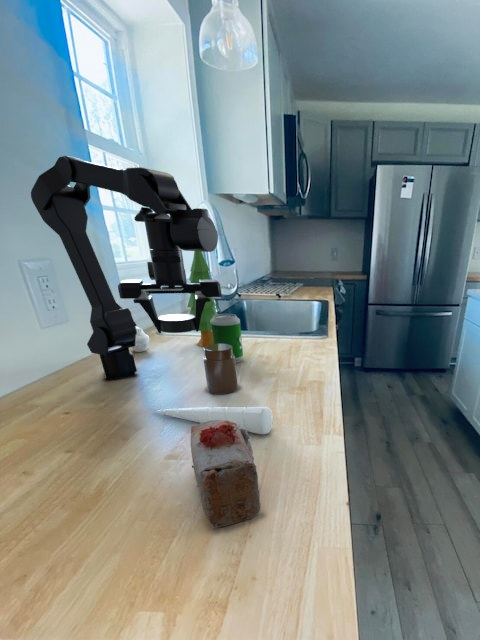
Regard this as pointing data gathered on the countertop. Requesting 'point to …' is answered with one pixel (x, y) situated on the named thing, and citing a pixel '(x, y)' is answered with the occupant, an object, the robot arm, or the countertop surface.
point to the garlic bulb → (140, 341)
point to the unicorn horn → (228, 416)
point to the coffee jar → (220, 369)
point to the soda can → (228, 333)
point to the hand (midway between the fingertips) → (179, 332)
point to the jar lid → (177, 323)
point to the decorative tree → (201, 273)
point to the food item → (225, 472)
